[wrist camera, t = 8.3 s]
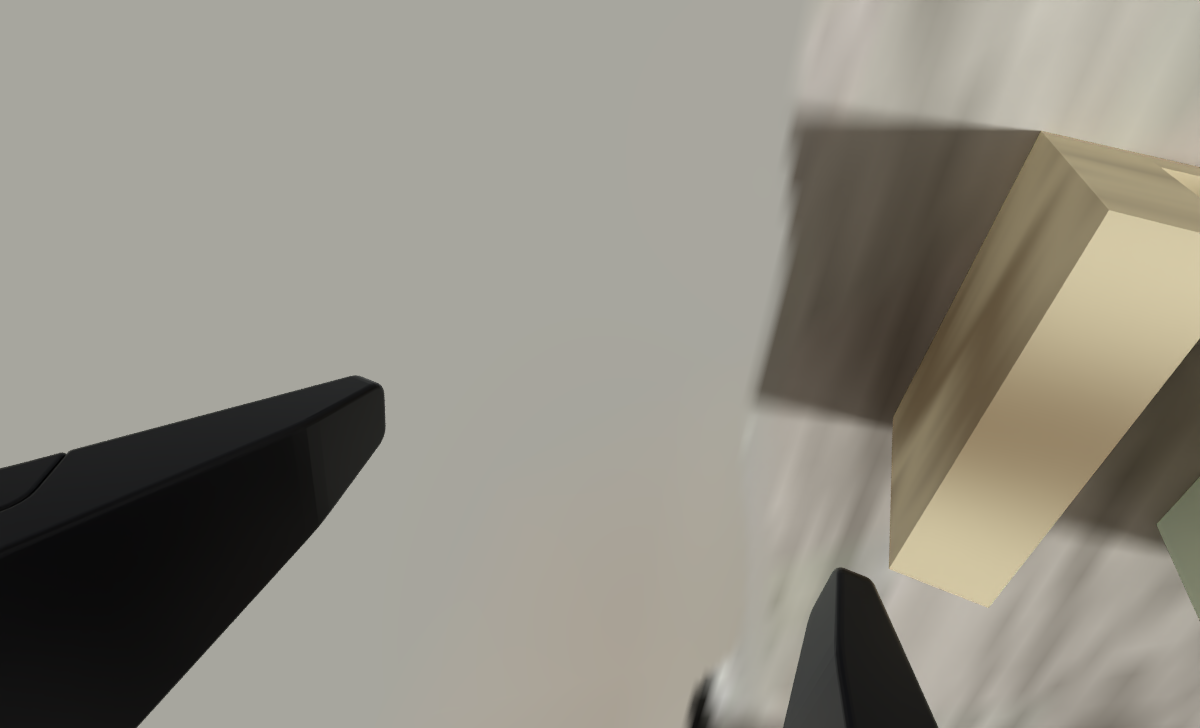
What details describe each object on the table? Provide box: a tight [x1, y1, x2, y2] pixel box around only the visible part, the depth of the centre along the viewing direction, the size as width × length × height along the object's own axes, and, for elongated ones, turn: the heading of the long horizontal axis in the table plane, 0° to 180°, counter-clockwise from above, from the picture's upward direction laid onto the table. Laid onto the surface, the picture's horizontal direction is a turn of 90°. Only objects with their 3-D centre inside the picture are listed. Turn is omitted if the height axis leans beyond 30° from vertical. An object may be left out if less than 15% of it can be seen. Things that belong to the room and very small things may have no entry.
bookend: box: [889, 131, 1200, 608], centre depth 14 cm, size 8×4×6 cm, turn 171°
